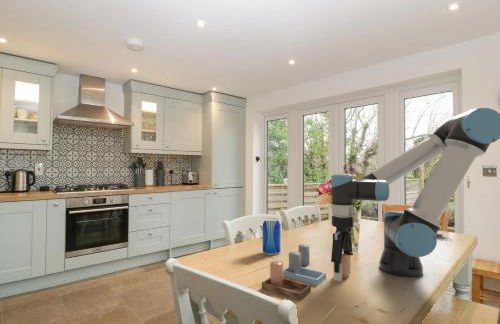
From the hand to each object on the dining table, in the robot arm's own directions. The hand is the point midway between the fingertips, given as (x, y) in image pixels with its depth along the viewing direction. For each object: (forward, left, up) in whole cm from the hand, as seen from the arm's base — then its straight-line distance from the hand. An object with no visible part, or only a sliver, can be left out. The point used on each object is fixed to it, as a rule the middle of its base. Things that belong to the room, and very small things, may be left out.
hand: (342, 276), depth 103 cm
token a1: (+14, +23, 0) cm, 27 cm away
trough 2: (+11, +10, 0) cm, 15 cm away
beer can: (+36, -8, 0) cm, 37 cm away
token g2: (+17, -3, 0) cm, 17 cm away
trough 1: (+11, +23, 0) cm, 25 cm away
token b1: (+14, +10, 0) cm, 17 cm away
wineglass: (-23, -99, 0) cm, 102 cm away
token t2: (0, 0, 0) cm, 0 cm away
